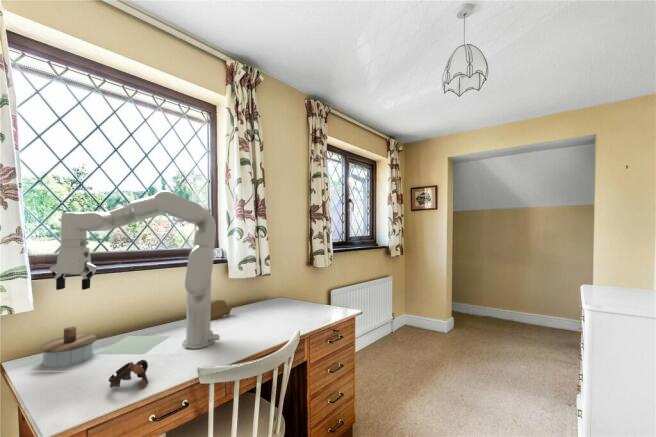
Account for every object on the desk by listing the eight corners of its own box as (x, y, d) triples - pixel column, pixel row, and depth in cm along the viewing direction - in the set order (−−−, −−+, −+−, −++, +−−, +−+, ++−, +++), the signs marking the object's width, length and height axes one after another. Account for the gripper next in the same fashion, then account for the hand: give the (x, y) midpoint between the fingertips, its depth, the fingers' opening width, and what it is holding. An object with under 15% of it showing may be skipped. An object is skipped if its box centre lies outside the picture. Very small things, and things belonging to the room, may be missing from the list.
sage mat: (169, 337, 136) (169, 336, 136) (143, 354, 117) (143, 353, 117) (128, 336, 137) (128, 336, 137) (95, 354, 118) (95, 353, 118)
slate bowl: (101, 352, 120) (102, 337, 120) (71, 368, 106) (71, 351, 106) (67, 352, 120) (67, 336, 120) (32, 368, 106) (32, 351, 106)
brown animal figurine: (139, 396, 90) (122, 375, 88) (114, 407, 91) (97, 387, 89) (161, 367, 101) (147, 348, 100) (139, 378, 103) (124, 359, 101)
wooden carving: (228, 314, 172) (229, 296, 172) (232, 316, 169) (232, 298, 169) (199, 320, 161) (199, 301, 161) (202, 322, 158) (202, 303, 158)
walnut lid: (106, 336, 121) (106, 321, 121) (72, 352, 105) (73, 336, 105) (67, 336, 121) (67, 321, 122) (27, 352, 105) (27, 336, 106)
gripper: (103, 243, 119) (103, 286, 118) (60, 243, 119) (59, 287, 118) (88, 244, 111) (88, 291, 111) (42, 245, 111) (41, 291, 111)
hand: (73, 289), depth 115 cm, fingers open, 9 cm apart
